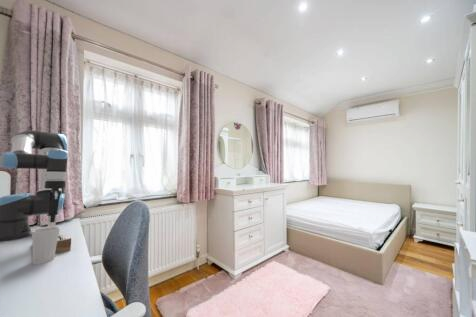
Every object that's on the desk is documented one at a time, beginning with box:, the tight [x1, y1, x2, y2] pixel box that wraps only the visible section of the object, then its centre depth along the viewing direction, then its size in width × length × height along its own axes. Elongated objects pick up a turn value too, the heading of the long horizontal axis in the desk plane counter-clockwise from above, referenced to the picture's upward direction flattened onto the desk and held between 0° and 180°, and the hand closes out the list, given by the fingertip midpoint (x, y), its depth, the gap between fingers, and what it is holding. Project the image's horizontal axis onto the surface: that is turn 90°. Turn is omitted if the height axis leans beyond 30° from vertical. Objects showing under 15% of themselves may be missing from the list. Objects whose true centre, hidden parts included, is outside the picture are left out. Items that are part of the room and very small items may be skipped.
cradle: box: [55, 234, 72, 255], centre depth 91 cm, size 22×10×5 cm, turn 50°
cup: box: [31, 226, 61, 265], centre depth 77 cm, size 8×8×12 cm
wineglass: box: [57, 233, 65, 241], centre depth 91 cm, size 6×6×12 cm
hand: (51, 228), depth 95 cm, fingers closed
